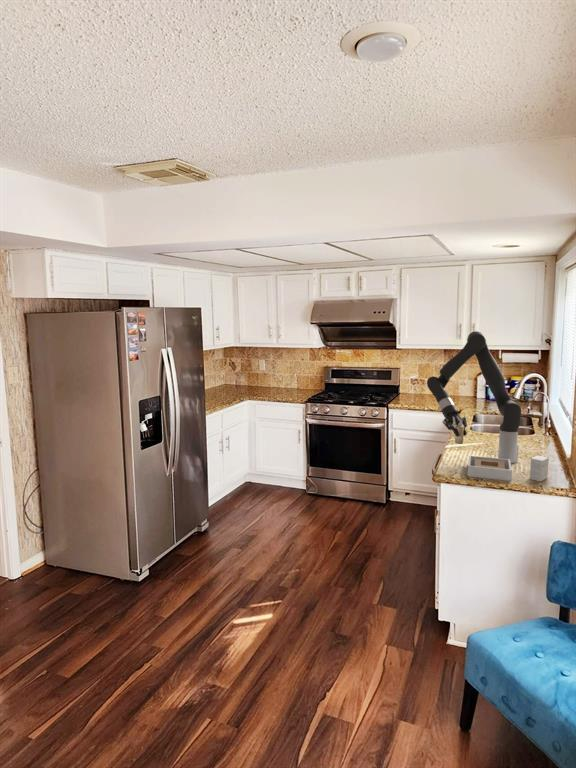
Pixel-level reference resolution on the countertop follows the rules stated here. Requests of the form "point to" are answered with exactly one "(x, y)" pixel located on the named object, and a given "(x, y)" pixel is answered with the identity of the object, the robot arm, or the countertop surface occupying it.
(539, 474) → the small box
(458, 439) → the peg
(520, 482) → the countertop surface
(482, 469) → the bin
